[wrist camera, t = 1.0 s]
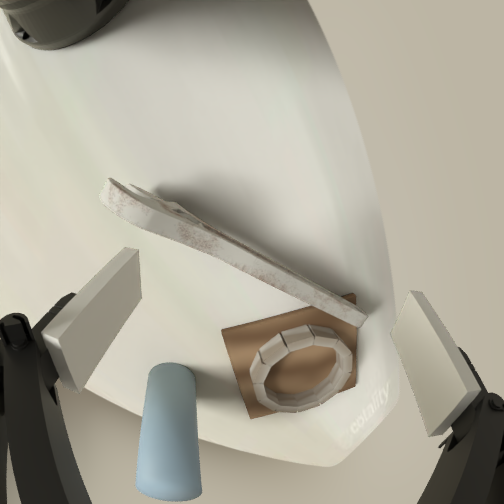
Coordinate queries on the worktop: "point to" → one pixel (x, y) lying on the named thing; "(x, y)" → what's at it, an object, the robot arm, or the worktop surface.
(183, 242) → the wrench
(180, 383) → the post
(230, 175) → the worktop surface
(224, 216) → the worktop surface
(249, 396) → the collar board
